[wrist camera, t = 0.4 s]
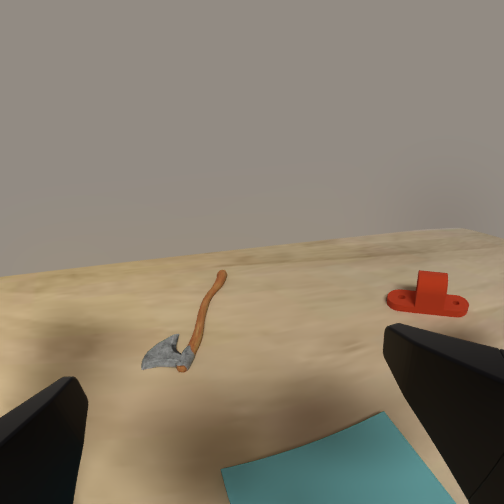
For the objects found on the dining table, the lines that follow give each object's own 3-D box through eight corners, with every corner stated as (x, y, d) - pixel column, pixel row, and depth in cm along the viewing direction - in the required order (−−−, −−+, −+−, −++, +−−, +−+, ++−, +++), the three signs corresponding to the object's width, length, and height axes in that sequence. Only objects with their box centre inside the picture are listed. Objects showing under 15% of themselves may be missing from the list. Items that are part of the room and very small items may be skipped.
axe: (192, 277, 52) (190, 268, 51) (228, 277, 51) (227, 268, 50) (138, 370, 31) (133, 360, 31) (190, 377, 30) (186, 366, 30)
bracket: (465, 303, 33) (472, 270, 31) (468, 320, 30) (477, 285, 28) (388, 295, 39) (391, 262, 37) (385, 310, 36) (388, 276, 34)
